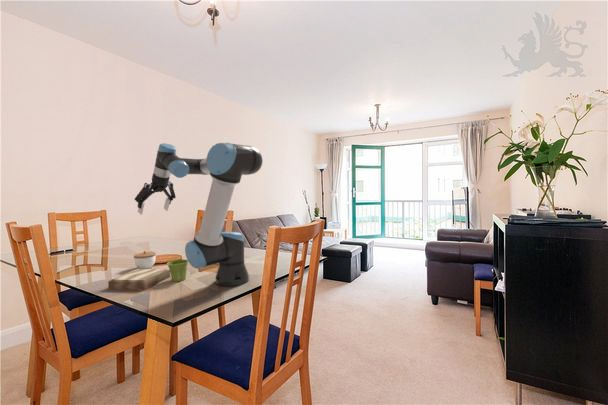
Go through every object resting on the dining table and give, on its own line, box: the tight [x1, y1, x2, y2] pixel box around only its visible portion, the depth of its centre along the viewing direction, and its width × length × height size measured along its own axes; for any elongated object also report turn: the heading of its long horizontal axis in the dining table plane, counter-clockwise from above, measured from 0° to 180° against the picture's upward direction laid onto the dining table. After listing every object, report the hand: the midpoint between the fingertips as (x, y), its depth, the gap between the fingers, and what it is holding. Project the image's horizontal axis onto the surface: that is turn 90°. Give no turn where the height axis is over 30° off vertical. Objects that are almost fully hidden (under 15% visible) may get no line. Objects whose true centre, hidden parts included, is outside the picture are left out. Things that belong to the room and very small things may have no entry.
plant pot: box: [166, 259, 189, 283], centre depth 137 cm, size 9×9×9 cm
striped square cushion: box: [107, 268, 171, 291], centre depth 134 cm, size 18×18×4 cm
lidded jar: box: [133, 250, 157, 269], centre depth 159 cm, size 11×11×9 cm
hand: (153, 211), depth 147 cm, fingers open, 13 cm apart
